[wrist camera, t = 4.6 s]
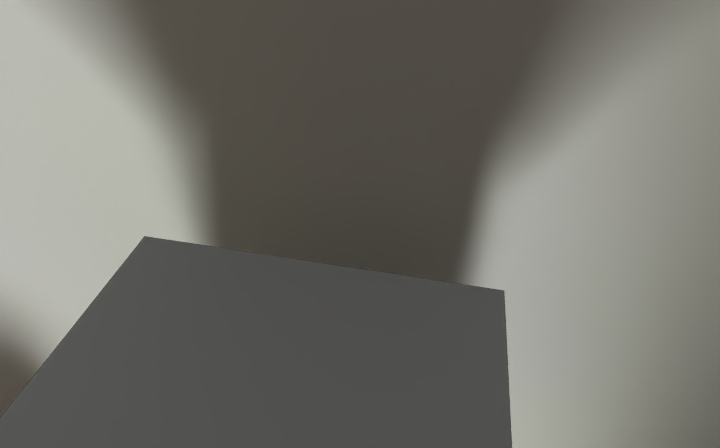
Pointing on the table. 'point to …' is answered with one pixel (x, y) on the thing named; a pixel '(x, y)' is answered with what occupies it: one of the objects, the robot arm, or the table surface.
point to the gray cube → (270, 359)
